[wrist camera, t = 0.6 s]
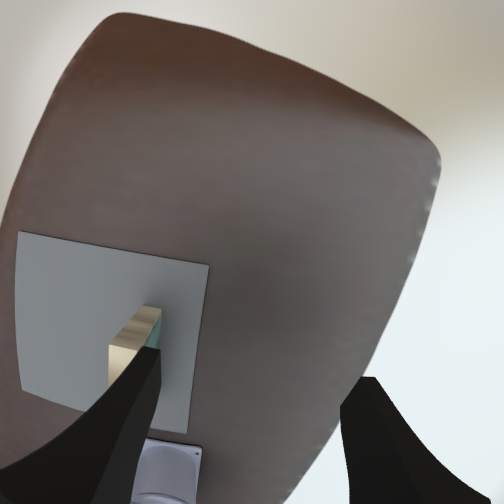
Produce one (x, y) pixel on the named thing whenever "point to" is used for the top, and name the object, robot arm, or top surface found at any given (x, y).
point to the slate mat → (102, 320)
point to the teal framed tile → (134, 339)
